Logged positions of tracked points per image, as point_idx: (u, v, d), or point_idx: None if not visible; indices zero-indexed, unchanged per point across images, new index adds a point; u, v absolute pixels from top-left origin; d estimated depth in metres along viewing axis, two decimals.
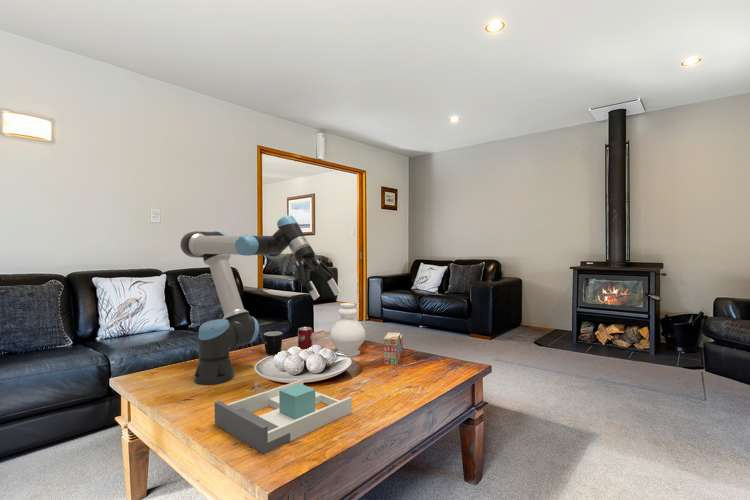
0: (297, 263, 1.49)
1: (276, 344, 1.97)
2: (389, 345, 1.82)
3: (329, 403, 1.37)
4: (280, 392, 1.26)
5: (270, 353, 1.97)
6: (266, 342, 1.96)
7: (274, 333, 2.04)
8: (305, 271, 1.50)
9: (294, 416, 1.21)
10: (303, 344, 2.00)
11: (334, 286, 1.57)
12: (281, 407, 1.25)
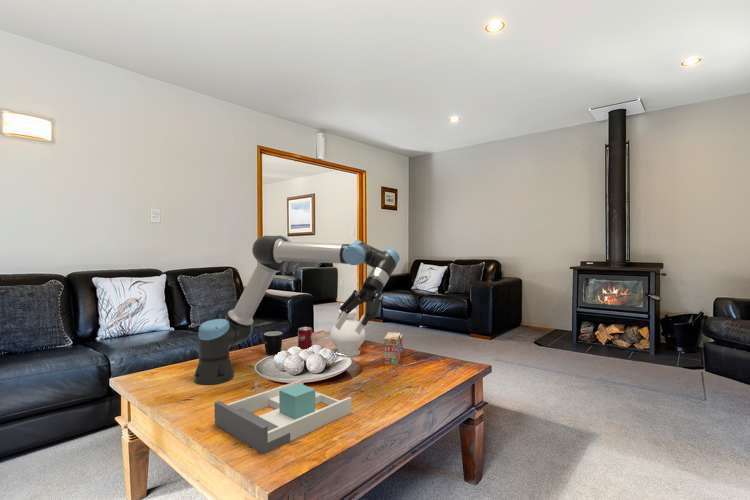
0: (381, 297, 1.47)
1: (276, 344, 1.97)
2: (389, 345, 1.83)
3: (329, 403, 1.37)
4: (280, 392, 1.26)
5: (270, 353, 1.97)
6: (266, 342, 1.96)
7: (274, 333, 2.04)
8: (370, 304, 1.47)
9: (294, 416, 1.21)
10: (303, 344, 2.00)
11: (342, 321, 1.48)
12: (281, 407, 1.25)
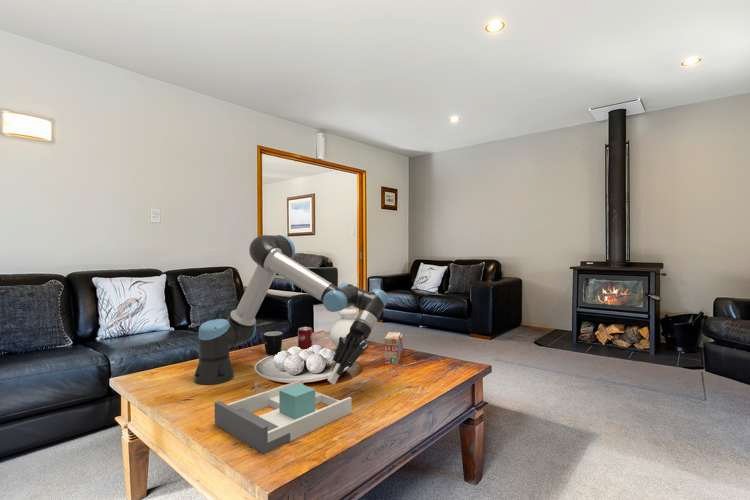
0: (364, 347, 1.40)
1: (276, 344, 1.97)
2: (390, 345, 1.83)
3: (329, 403, 1.37)
4: (280, 392, 1.26)
5: (270, 353, 1.97)
6: (266, 342, 1.96)
7: (274, 333, 2.04)
8: (352, 351, 1.41)
9: (294, 416, 1.21)
10: (303, 344, 2.00)
11: None
12: (281, 407, 1.25)
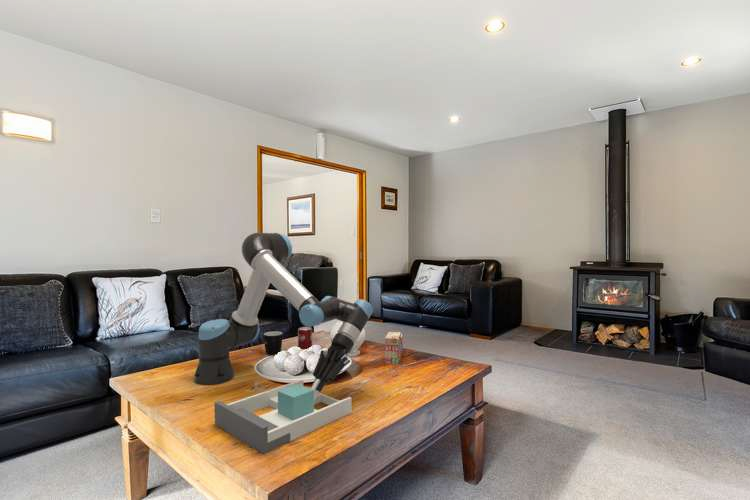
0: (345, 361, 1.34)
1: (276, 344, 1.97)
2: (390, 344, 1.84)
3: (329, 403, 1.37)
4: (278, 393, 1.25)
5: (270, 353, 1.97)
6: (266, 342, 1.96)
7: (274, 333, 2.04)
8: (333, 366, 1.35)
9: (292, 417, 1.21)
10: (303, 344, 2.00)
11: None
12: (280, 408, 1.25)
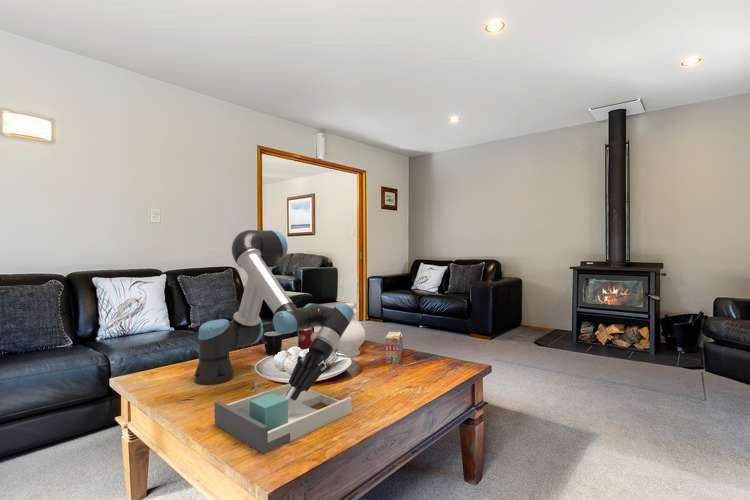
0: (323, 368, 1.26)
1: (276, 344, 1.97)
2: (391, 344, 1.84)
3: (329, 403, 1.37)
4: (250, 402, 1.18)
5: (270, 353, 1.97)
6: (266, 342, 1.96)
7: (274, 333, 2.04)
8: (310, 373, 1.27)
9: None
10: (303, 344, 2.00)
11: None
12: None
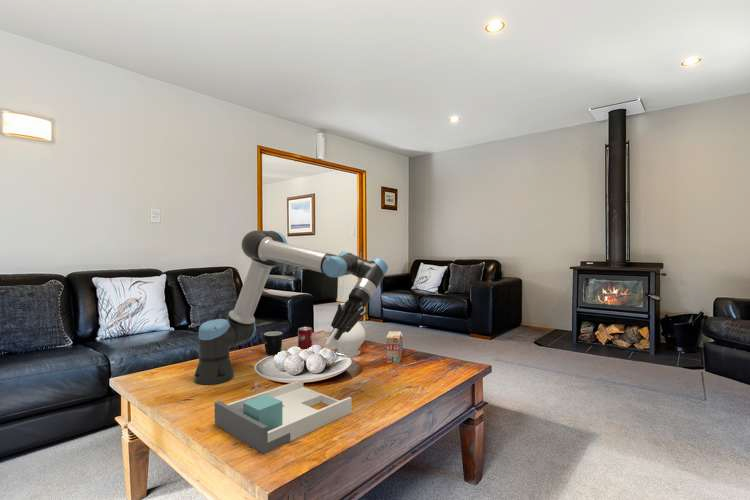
0: (362, 313, 1.40)
1: (276, 344, 1.97)
2: (392, 344, 1.85)
3: (329, 403, 1.37)
4: (244, 404, 1.16)
5: (270, 353, 1.97)
6: (266, 342, 1.96)
7: (274, 333, 2.04)
8: (350, 317, 1.41)
9: None
10: (303, 344, 2.00)
11: None
12: None
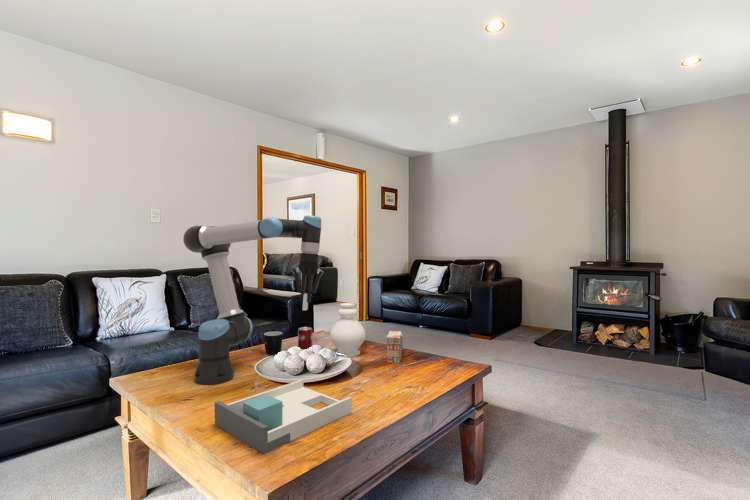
0: None
1: (276, 344, 1.97)
2: (392, 343, 1.85)
3: (329, 403, 1.37)
4: (244, 404, 1.16)
5: (270, 353, 1.97)
6: (266, 342, 1.96)
7: (274, 333, 2.04)
8: (311, 280, 1.64)
9: None
10: (303, 344, 2.00)
11: None
12: None
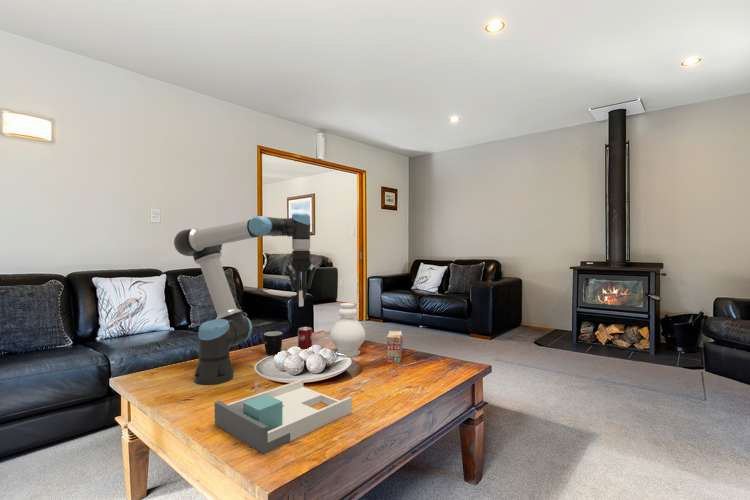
0: (315, 269, 1.67)
1: (276, 344, 1.97)
2: (392, 343, 1.86)
3: (329, 403, 1.37)
4: (244, 404, 1.16)
5: (270, 353, 1.97)
6: (266, 342, 1.96)
7: (274, 333, 2.04)
8: (305, 276, 1.67)
9: None
10: (303, 344, 2.00)
11: None
12: None
